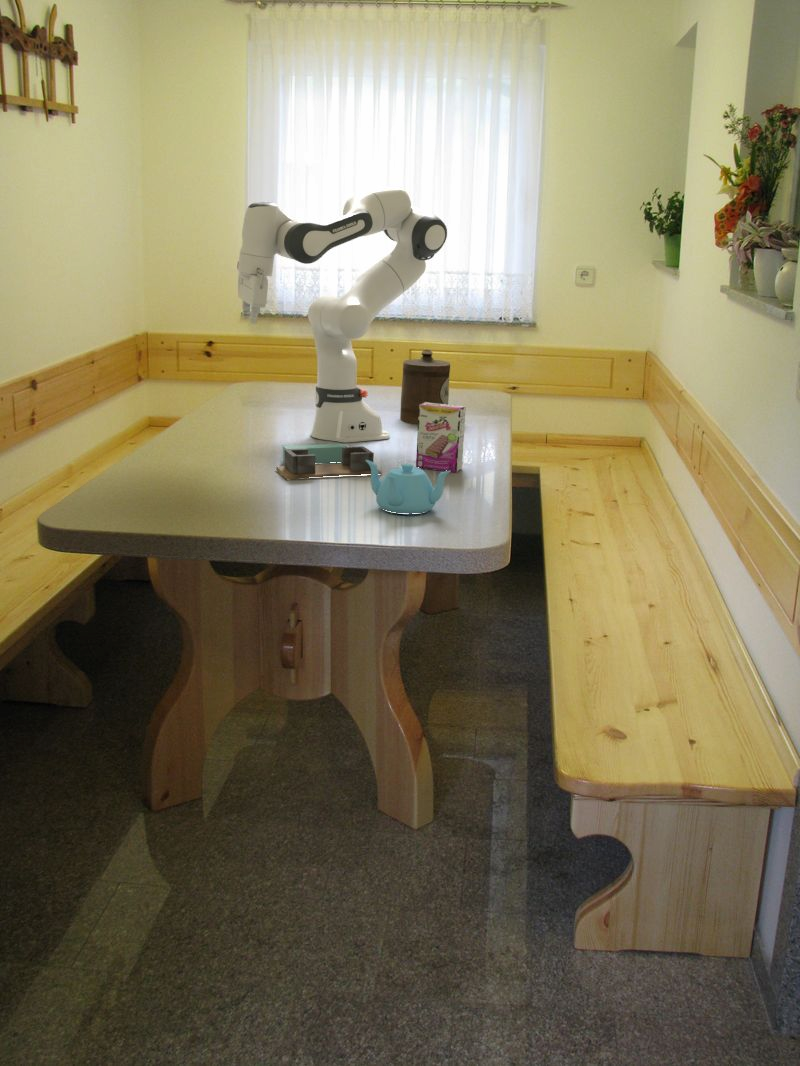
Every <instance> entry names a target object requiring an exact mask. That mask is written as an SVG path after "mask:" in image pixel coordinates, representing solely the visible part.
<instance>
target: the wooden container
mask: <svg viewBox="0 0 800 1066" xmlns="http://www.w3.org/2000/svg"><path fill="white" fill-rule="evenodd" d="M450 372H451V363H450V362H449V361H445V360H441V359H440V360H437V359H434V358H433V351H432V350H431V349H424V350H422V351H421V357H420V358H418V359H417V358H413V359H405V360H404V361H403V364H402V377H401V378H402V379H401V380H402V382H401V395H400V414H399V417H400V418H399V419H400V420H401V421H403V422H405V423H409V424H417V425H418V416H419V405H420V404H422V403H424V402H428V403H437V404H446V405H449V401H450V399H449V398H450V397H449V396H450Z"/></svg>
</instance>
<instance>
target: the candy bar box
mask: <svg viewBox="0 0 800 1066" xmlns="http://www.w3.org/2000/svg"><path fill="white" fill-rule="evenodd" d="M465 421H466V406H465V405H453V404H448V405H446V404H437V403H428V402H424V403H422V404H420V405H419V416H418V424H417V439H416V440H417V441H416V459H415V467H419V468H420V469H424V468H427V469H426V470H431V469H436V470H435V471H440V470H447V471H453V472H452V473H458V472H459V471H461V470H462V468H463V456H464V455H463V453H464V440H465V439H464V438H465V425H466V424H465ZM457 471H458V472H457Z"/></svg>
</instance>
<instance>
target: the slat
mask: <svg viewBox="0 0 800 1066" xmlns="http://www.w3.org/2000/svg"><path fill="white" fill-rule="evenodd" d="M342 447H348V446H347V445H346V444H345V443H324V444H323V443H322V444H321V443H320V444H298V445H297V444H296V445H295V444H294V445H283V446H282V463H283V462H284V458H285V449H308V455H311V454H314V455H316V462H315V463H330V462H336V464H338V463H337V462H342Z"/></svg>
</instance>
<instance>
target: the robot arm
mask: <svg viewBox="0 0 800 1066" xmlns="http://www.w3.org/2000/svg"><path fill="white" fill-rule="evenodd" d="M381 232H383V233H384V234H385V235H386V236H387V238H388V239H390V240H391V241H393V242H396V245H395V247H394V248H393V250H392V251H391V252H390V254H387V255H386V256H385V257H383V258H382V259H380V260H379V261H378V262H377V263H375V264H374V265H372V266H371V267H369V269H367V270H365V271H364V272H363V273H362V274H360V275H359V276H358V277H357V279H356V282H355V283H354V285H353V286H352V287H351V288H350V289H349V290H348V291H347V293H345V294H344V295H341V296H334V295H324V296H321V297H318V298H316V299H315V300H313V302H311V304H310V305H309V308H308V310H307V318H308V321H309V323H310V326H311V327H312V328H311V329H312V334H313V339H314V344H315V351H316V361H317V366H316V367H317V373H316V375H317V379H316V381H317V382H316V384H317V385H316V386H315V392H314V404H315V414H314V421H313V424H312V425H313V426H312V429H311V433H310V437H312V438H314V439H319V440H325V441H335V442H339V443H354V442H365V441H377V440H389V439H390V433H389V432H388V431H387V430H385V429H383V425H382V424H383V423H382V420H381V417H380V414H379V413H378V412H377V411H375V409H373V408H372V407H371V406H369V405H368V404H367V403H366V402H365V401H364V400H363V399H364V398H367V397H368V396H369V392H368V391H367V390H366V389H360V388H359V387H357V374H358V373H357V371H358V360H357V356H356V355H355V352H354V349H353V344H352V340H358V339H360V338H362V337H364V336H365V335H366V334H367V333H368V331H369V329H370V325H371V323H372V322H373V321H374V320H375V318H376V317H377V316H378V315H379V314H380V313H381V312H382V311H383V310H384V309H385V308H386V307H388V306H389V305H390V304H391V303H392V302H394V301H395V300H396V299H398V298H399V297H400V296H401V295H403V294H404V293H405V292H406V291H408V290H409V289H410V288H412V286H413V285H414V284H415V283H416V282H417V281H418V280H419V279H420V278H421V277H422V276H423V274H424V273H425V272H426V268H427V266H426V265H427V263H426V261H429V260H430V259H433V258H434V256H435V255H436V254H437V253H438V252H439V251H440V250H441V249H442V248H443V246H444V244H445V243H446V240H447V237H448V229H447V226H446V224H445V222H444V221H443V220H442V219H441V218H440V217H438V216H437V215H435V214H432V213H431V212H429V211H426V210H425V209H422V208H420V207H419V208H418V207H416V206H413V205H412V202H411V198H410V196H409V193H407V191H406V190H405V189H403V187H400V186H393V185H392V186H384V187H378V188H374V189H370V190H367V191H364V192H361V193H358V194H355V195H354V196H352V197H351V198H349V199H348V200H346V202H345V204H344V206H343V209H342V216H341V217H338V218H335V219H332V220H329V221H327V222H325V223H320V224H319V223H313V222H307V221H306V222H305V221H304V222H303V221H298V220H295V219H293V218H292V217H290V216H289V215H287V214H286V213H285V212H284V211H282V210H281V209H280V207H279V206H278V204H276V203H273V202H264V201H263V202H262V201H261V202H259V201H258V202H253V203H251V204H249V205H248V206H247V207H246V211H245V214H244V218H243V223H242V231H241V239H242V243H241V247H240V250H239V256H238V261H237V266H236V267H237V268H236V269H237V271H238V277H237V278H238V279H237V296H238V298H239V299H241V300H242V301H241V302H242V303H241V304H242V312H241V313H242V315H241V316H242V318H243V319H248V320H249V321H248V322H249V323H251V324H253V325H254V324H257V323H258V317H259V314H260V312H261V308H263V309H264V308H266V306H267V301H268V289H269V279H268V277H272V276H273V272H274V271H273V270H274V263H275V255H278V256H281V257H283V258H287V259H290V260H294V261H297V262H299V263H301V264H304V265H305V264H306V265H307V264H313V263H315V262H317V261H319V260H320V259H321V258H322V257H323V256H324V255H325V254H326V253H327V252H329V251H330V250H331V249H334V248H336V247H338V246H340V245H344V244H345V243H347V242H350V241H353V240H355V239H358V238H361V237H367V236H370V235H374V234H377V233H381Z"/></svg>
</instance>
